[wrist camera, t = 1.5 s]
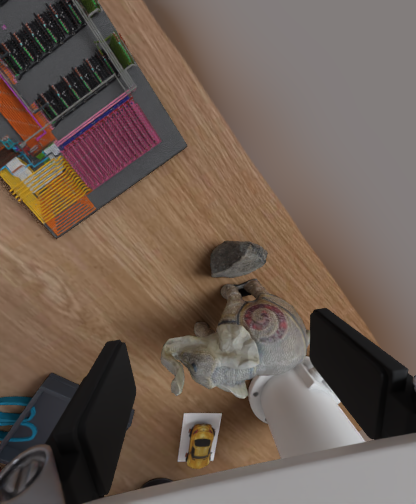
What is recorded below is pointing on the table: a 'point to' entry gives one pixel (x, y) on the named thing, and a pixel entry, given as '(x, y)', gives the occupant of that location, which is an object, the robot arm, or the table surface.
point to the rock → (236, 259)
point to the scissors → (16, 417)
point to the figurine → (240, 342)
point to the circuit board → (74, 111)
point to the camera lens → (156, 482)
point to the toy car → (199, 438)
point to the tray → (41, 416)
